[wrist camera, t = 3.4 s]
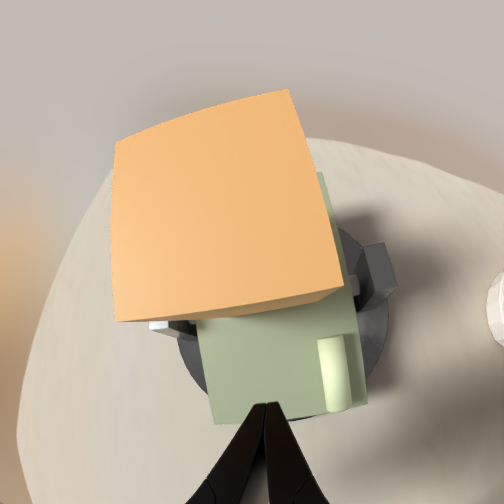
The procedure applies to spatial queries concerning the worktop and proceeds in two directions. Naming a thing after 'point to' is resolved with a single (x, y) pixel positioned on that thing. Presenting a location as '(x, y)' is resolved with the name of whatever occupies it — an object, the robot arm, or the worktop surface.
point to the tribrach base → (366, 305)
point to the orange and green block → (239, 256)
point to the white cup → (496, 308)
